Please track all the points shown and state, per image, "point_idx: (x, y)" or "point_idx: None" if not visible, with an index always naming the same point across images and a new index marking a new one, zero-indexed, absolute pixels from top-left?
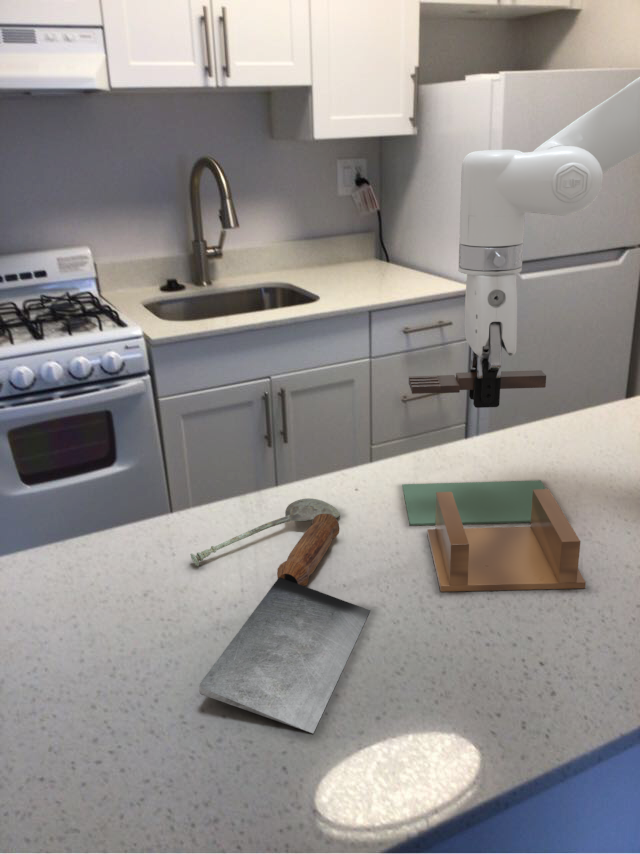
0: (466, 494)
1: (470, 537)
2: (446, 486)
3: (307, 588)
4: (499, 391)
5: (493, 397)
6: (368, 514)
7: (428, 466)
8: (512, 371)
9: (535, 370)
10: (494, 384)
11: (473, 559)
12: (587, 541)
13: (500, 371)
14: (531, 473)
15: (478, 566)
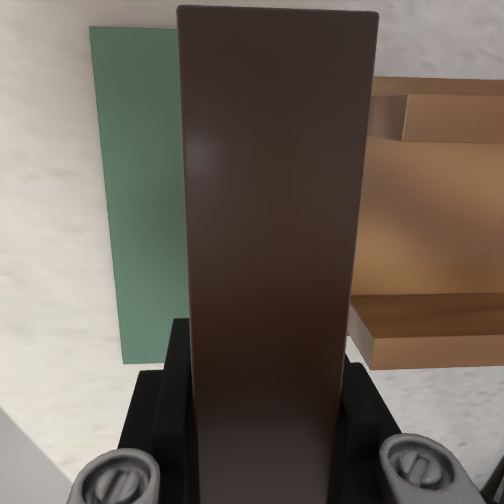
0: (177, 240)
1: (386, 265)
2: (132, 277)
3: (501, 498)
4: (346, 358)
5: (364, 375)
6: None
7: (6, 301)
8: (202, 303)
9: (188, 80)
10: (395, 429)
11: (462, 271)
12: (418, 8)
13: (469, 485)
14: (27, 36)
15: (487, 267)
